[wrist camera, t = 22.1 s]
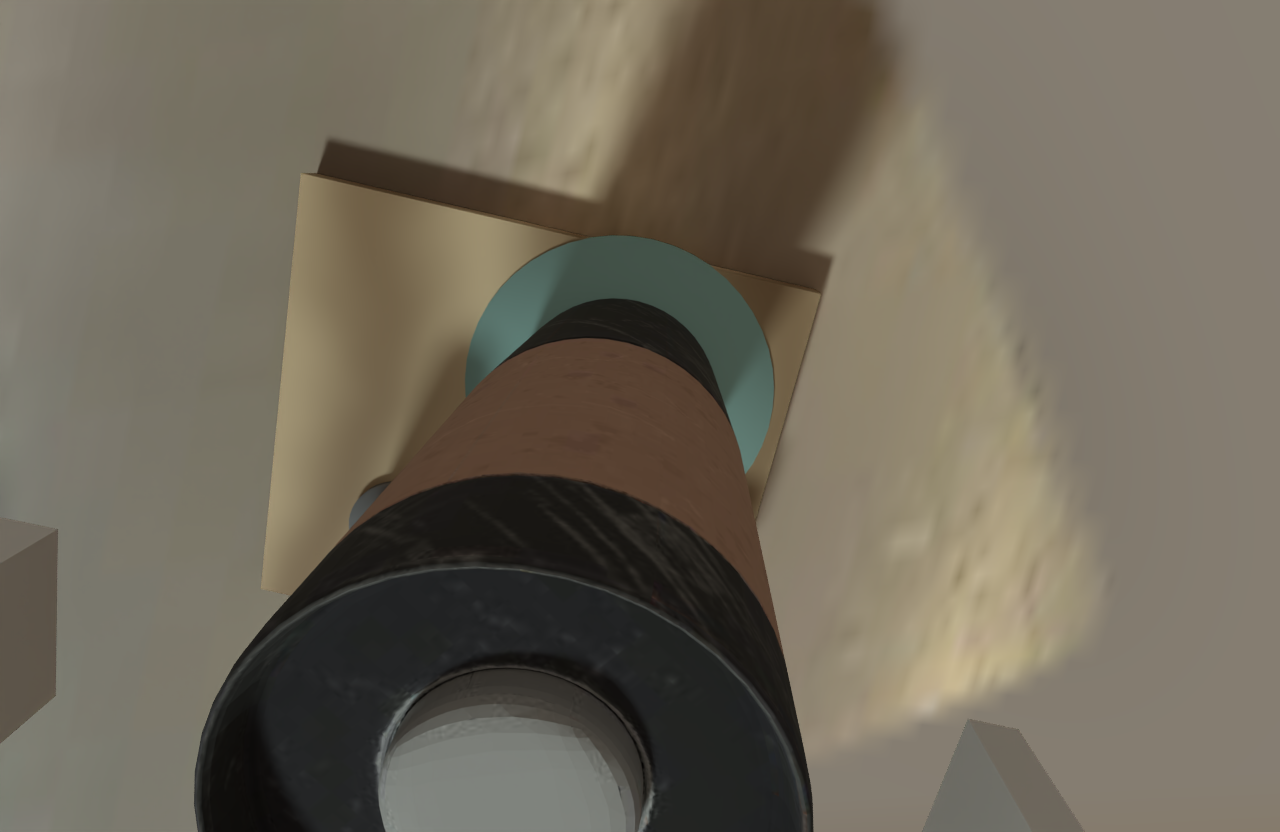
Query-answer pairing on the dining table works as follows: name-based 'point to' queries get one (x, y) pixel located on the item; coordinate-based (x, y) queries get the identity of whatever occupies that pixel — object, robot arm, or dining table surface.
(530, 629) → the travel mug
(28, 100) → the dining table surface
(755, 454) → the felt pad
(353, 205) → the oak board
